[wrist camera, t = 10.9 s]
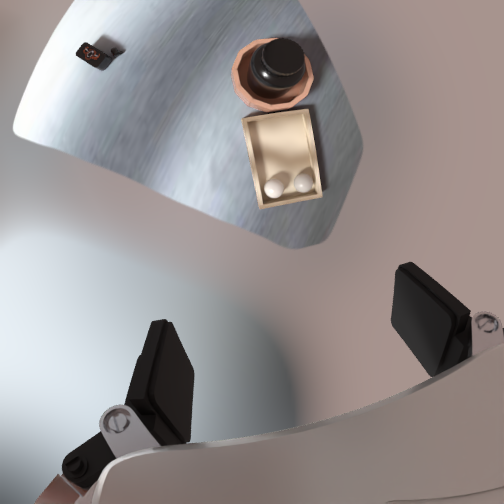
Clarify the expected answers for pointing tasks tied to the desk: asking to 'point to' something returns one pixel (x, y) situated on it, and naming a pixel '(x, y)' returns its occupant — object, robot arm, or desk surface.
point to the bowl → (256, 101)
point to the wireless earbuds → (96, 56)
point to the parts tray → (282, 154)
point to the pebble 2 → (303, 182)
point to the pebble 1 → (274, 188)
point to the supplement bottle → (275, 68)
